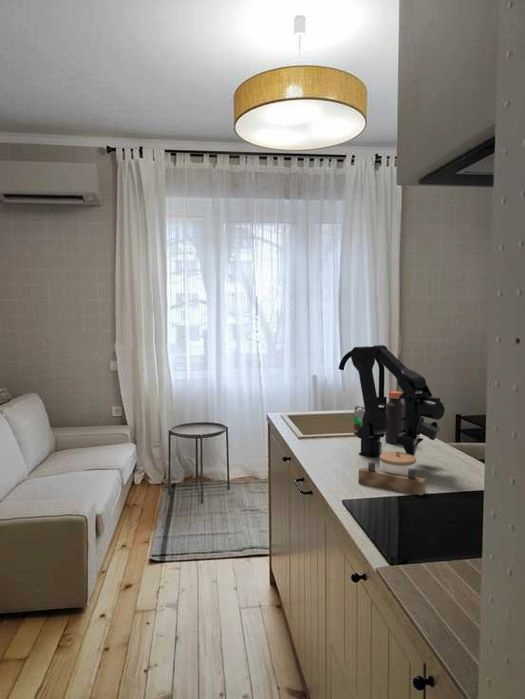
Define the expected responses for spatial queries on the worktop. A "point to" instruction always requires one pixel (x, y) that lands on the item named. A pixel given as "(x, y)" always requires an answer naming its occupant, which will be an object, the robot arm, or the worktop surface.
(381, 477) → the stop bar
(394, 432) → the bottle
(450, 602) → the worktop surface
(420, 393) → the robot arm
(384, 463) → the lidded jar
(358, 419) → the food container
